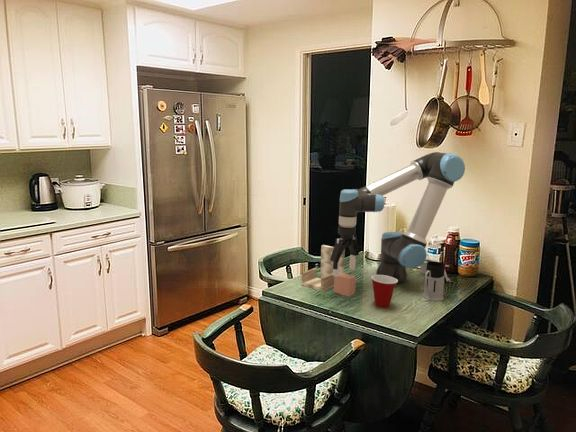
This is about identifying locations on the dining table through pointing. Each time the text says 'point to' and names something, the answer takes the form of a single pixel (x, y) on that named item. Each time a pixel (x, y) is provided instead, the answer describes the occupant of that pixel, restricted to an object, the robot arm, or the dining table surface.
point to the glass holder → (434, 281)
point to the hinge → (424, 266)
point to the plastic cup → (383, 289)
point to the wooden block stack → (323, 271)
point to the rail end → (344, 284)
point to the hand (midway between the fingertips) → (344, 272)
